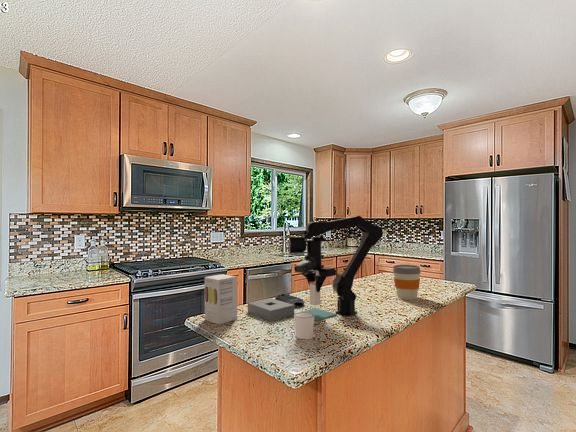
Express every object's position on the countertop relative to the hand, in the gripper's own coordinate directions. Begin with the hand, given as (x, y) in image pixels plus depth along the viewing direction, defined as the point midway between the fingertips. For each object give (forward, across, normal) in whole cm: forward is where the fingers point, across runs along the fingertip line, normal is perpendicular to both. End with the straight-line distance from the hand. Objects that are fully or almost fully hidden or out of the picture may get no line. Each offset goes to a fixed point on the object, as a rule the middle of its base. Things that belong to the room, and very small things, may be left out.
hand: (315, 291), depth 128 cm
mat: (+10, 0, 0) cm, 10 cm away
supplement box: (+10, -21, -31) cm, 39 cm away
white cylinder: (+10, +14, -19) cm, 26 cm away
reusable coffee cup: (+10, +10, +53) cm, 55 cm away
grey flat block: (+9, -14, -12) cm, 21 cm away
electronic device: (+10, -20, +4) cm, 23 cm away
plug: (+5, 0, 0) cm, 5 cm away
